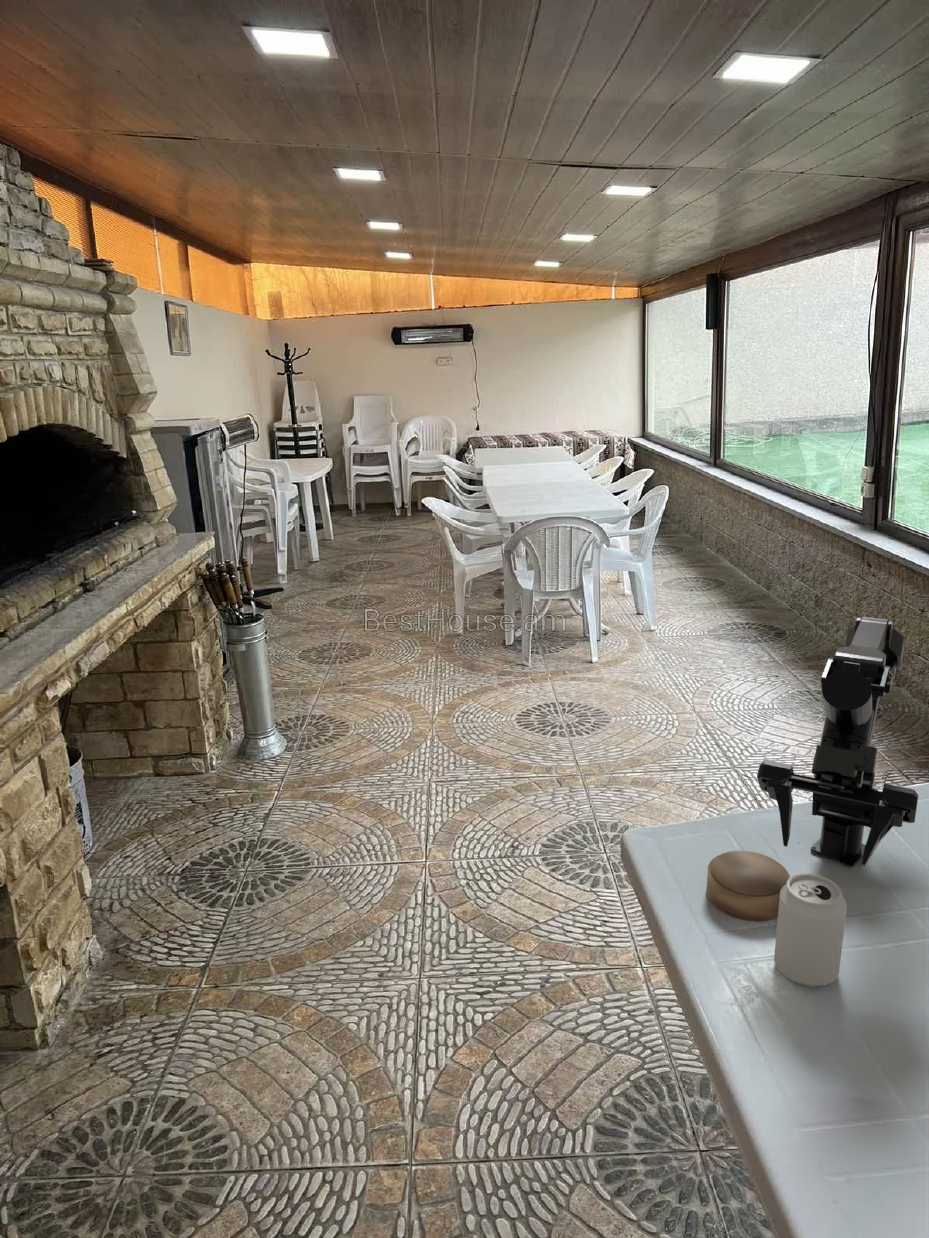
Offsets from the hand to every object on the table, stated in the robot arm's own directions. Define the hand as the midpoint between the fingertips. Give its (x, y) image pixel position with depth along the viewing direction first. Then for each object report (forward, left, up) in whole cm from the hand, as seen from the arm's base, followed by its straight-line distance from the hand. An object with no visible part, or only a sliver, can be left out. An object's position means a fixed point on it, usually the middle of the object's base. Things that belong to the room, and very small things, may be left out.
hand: (823, 854), depth 108 cm
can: (+6, +2, -13) cm, 14 cm away
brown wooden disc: (-2, -11, -12) cm, 17 cm away
